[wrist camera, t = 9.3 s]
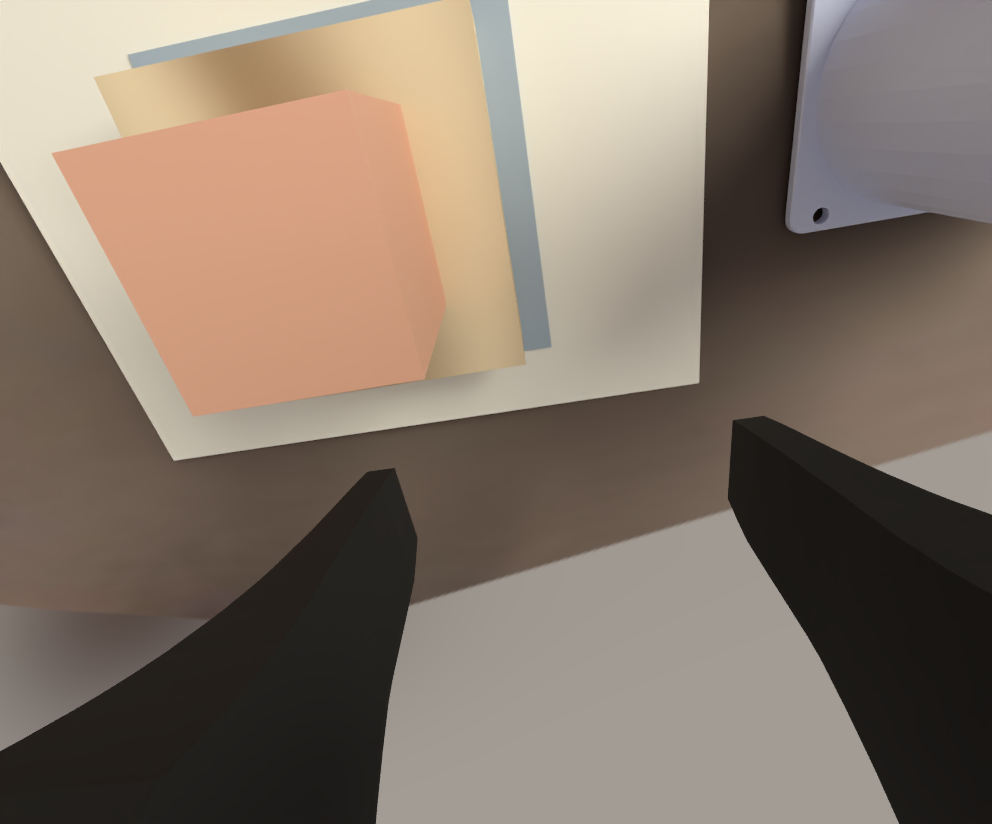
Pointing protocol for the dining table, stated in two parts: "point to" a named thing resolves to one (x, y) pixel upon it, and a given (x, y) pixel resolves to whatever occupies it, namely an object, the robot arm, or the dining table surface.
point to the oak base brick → (431, 132)
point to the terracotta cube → (271, 248)
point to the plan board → (522, 178)
